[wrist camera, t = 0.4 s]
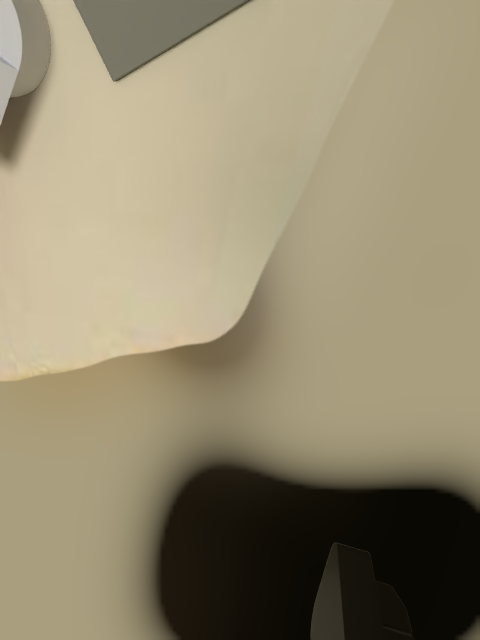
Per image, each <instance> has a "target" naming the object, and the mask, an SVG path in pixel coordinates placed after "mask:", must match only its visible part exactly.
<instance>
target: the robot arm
mask: <svg viewBox="0 0 480 640" xmlns="http://www.w3.org/2000/svg"><path fill="white" fill-rule="evenodd" d="M311 640H414V639H413V638H412V630H411V626H410V622H409V618H408V614H407V610H406V608H405V606H404V605H403V603H402V602H401V600H400V598H399V597H398V596H397V594H396V592H395V591H394V589H393V588H392V586H391V585H388V584H384V583H381V582H377V581H375V578H374V572H373V567H372V561H371V556H370V554H369V552H366V551H363V550H359V549H356V548H352V547H349V546H345V545H342V544H338V543H334V544H333V546H332V548H331V551H330V554H329V557H328V561H327V564H326V567H325V570H324V574H323V577H322V581H321V584H320V587H319V590H318V594H317V597H316V601H315V605H314V610H313V616H312V624H311Z"/></svg>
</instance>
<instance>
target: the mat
mask: <svg viewBox="0 0 480 640" xmlns="http://www.w3.org/2000/svg"><path fill="white" fill-rule="evenodd" d="M73 1H74V3H75V5H76V7H77V9H78V11H79V13H80V15H81V17H82V19H83V21H84V23H85V25H86V27H87V29H88V31H89V33H90V35H91V37H92V39H93V41H94V43H95V45H96V47H97V49H98V51H99V53H100V56H101V58H102V60H103V62H104V64H105V66H106V68H107V70H108V72H109V74H110V76H111V78H112V80H113V81H117V80H119V79H121V78H122V77H124V76H126V75H127V74H129V73H131V72H132V71H134V70H136V69H137V68H139V67H141V66H142V65H144V64H145V63H147V62H149V61H150V60H152V59H154V58H155V57H157V56H159V55H160V54H162V53H164V52H165V51H167V50H169V49H170V48H172V47H173V46H175V45H177V44H178V43H180V42H182V41H183V40H185V39H187V38H188V37H190V36H192V35H193V34H195V33H197V32H198V31H200V30H201V29H203V28H205V27H206V26H208V25H210V24H211V23H213V22H215V21H216V20H218V19H220V18H221V17H223V16H225V15H226V14H228V13H229V12H231V11H233V10H234V9H236V8H238V7H239V6H241V5H243V4H244V3H246V2H248V1H249V0H73Z"/></svg>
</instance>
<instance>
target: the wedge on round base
mask: <svg viewBox="0 0 480 640" xmlns="http://www.w3.org/2000/svg"><path fill="white" fill-rule="evenodd" d="M50 53H51V40H50V32H49V26H48V22H47V19H46V15H45V13H44V10H43V7H42V5H41V3H40V1H39V0H0V125H1V122H2V119H3V116H4V113H5V110H6V107H7V104H8V101H9V98H11V97H20V96H23V95H26V94H28V93H30V92H31V91H33V90H34V89H35V88H36V87H37V86H38V85H39V84H40V82H41V81H42V79H43V78H44V76H45V74H46V71H47V68H48V65H49V60H50Z"/></svg>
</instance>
